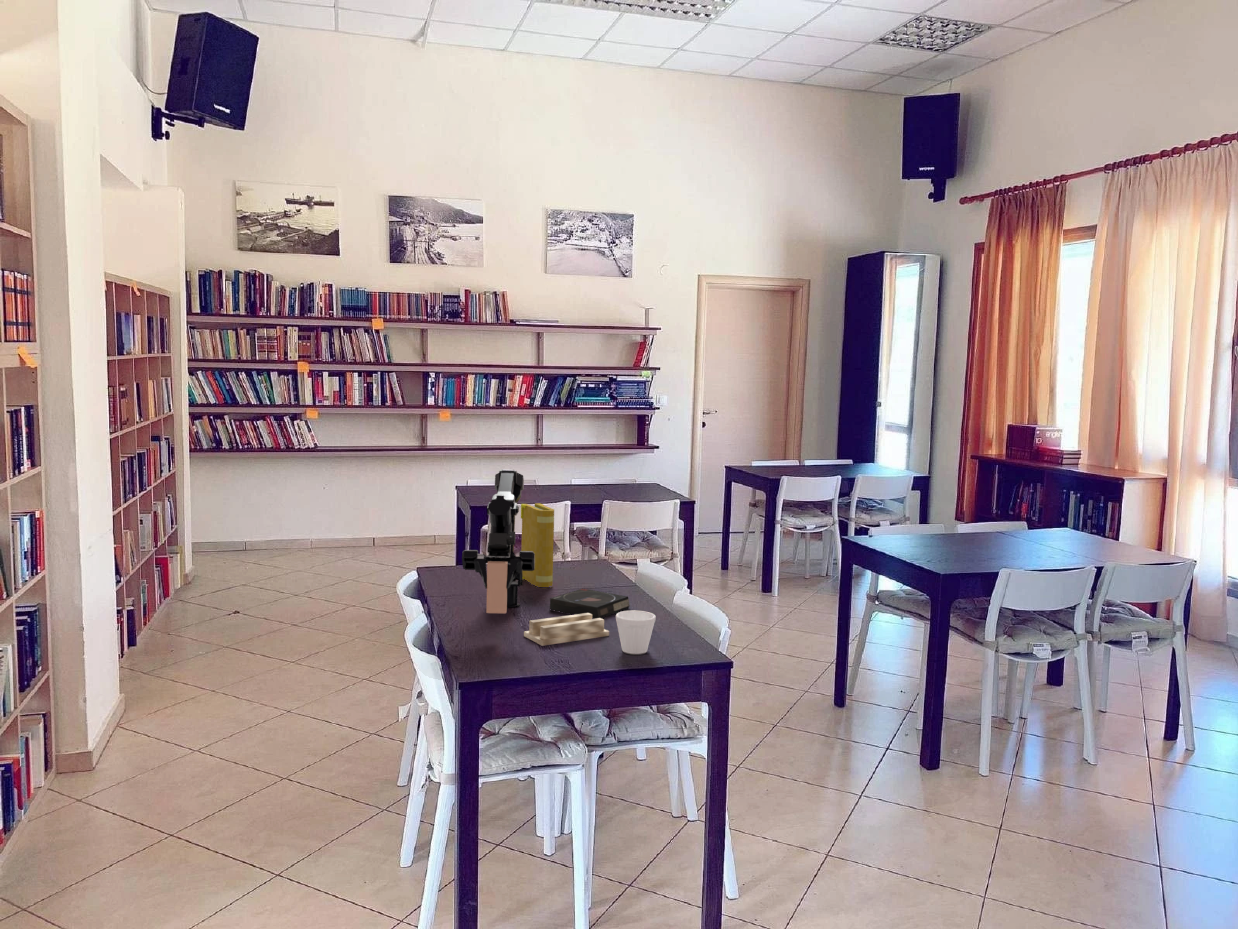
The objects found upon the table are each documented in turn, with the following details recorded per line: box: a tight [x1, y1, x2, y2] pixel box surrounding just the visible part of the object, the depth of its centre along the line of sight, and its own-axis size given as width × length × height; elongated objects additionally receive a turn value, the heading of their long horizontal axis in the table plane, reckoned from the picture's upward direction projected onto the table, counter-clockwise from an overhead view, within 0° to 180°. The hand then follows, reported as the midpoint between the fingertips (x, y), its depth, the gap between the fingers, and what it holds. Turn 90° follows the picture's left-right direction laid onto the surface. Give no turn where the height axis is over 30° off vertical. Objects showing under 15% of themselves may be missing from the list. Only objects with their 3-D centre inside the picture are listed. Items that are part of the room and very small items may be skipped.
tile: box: [486, 561, 508, 614], centre depth 239 cm, size 2×5×13 cm, turn 93°
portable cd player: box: [549, 587, 631, 619], centre depth 272 cm, size 16×17×4 cm
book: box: [520, 503, 555, 587], centre depth 304 cm, size 17×7×25 cm, turn 25°
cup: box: [615, 609, 657, 656], centre depth 231 cm, size 10×10×9 cm
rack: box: [523, 613, 610, 647], centre depth 244 cm, size 20×10×4 cm, turn 123°
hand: (496, 588), depth 238 cm, fingers closed on tile, 5 cm apart
